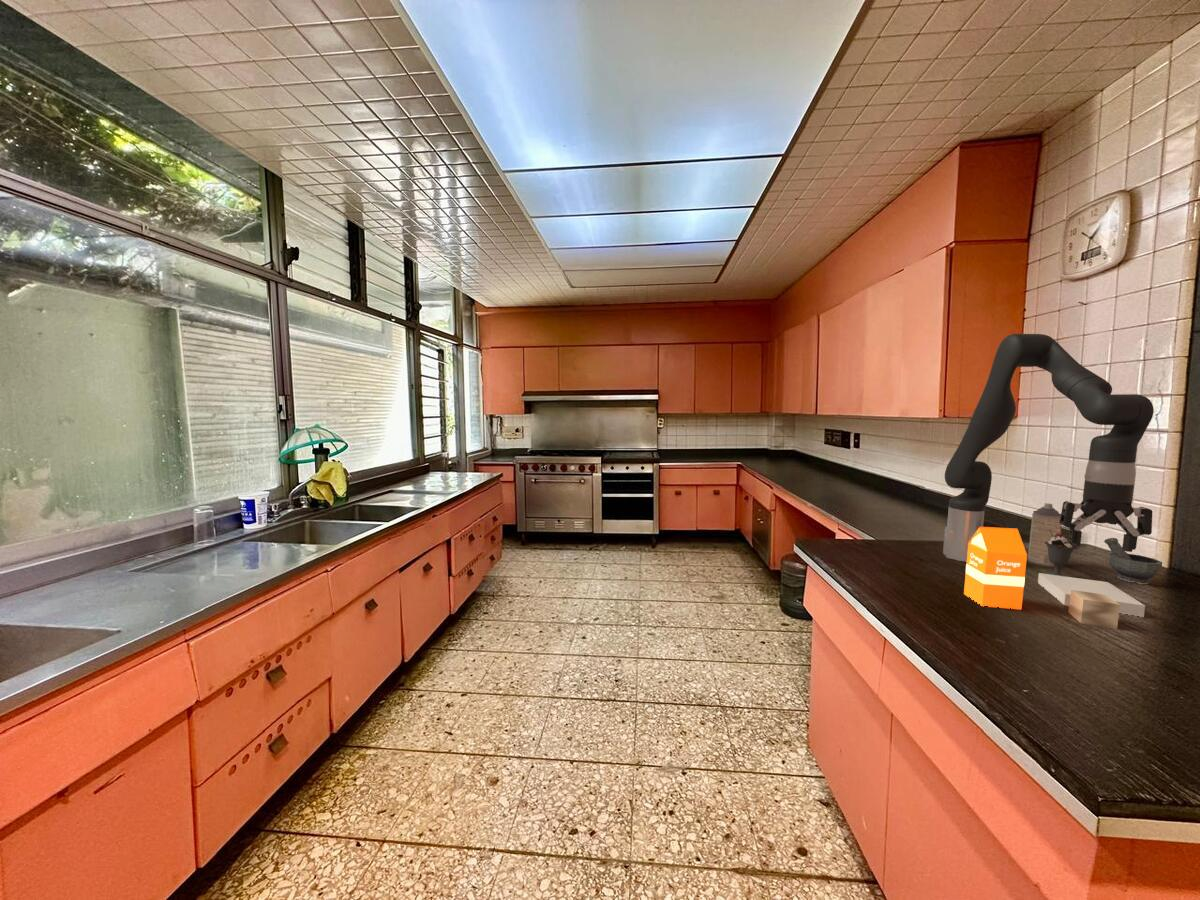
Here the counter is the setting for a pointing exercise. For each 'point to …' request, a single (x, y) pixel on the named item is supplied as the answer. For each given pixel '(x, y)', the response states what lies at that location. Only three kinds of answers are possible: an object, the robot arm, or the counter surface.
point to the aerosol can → (1043, 534)
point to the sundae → (1059, 552)
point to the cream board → (1064, 585)
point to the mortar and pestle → (1131, 563)
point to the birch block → (1094, 609)
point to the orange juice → (996, 568)
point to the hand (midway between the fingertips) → (1101, 548)
